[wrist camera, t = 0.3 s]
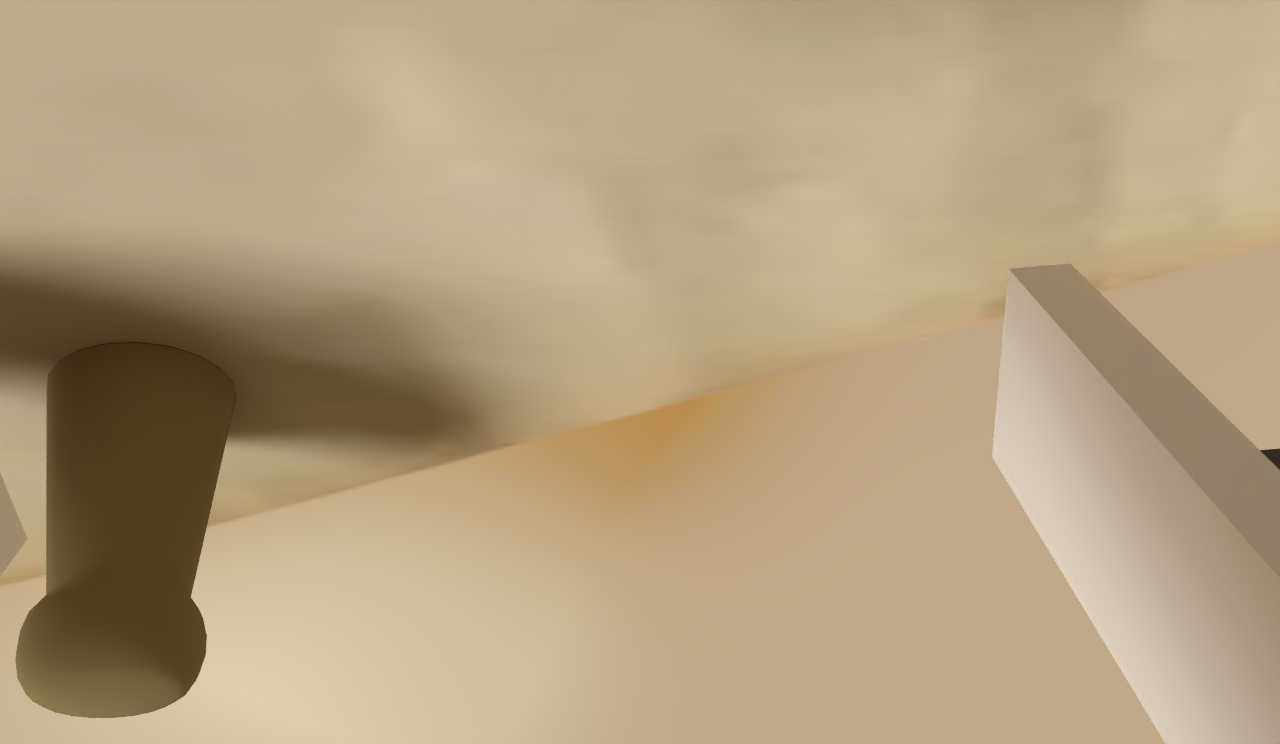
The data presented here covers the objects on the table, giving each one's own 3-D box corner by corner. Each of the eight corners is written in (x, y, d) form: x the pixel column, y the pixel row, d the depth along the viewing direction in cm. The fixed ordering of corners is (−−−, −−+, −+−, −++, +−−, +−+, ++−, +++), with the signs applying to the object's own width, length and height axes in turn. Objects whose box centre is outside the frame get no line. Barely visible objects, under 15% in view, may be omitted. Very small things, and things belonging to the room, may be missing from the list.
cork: (202, 331, 36) (175, 656, 30) (257, 426, 41) (243, 719, 35) (12, 355, 36) (-54, 689, 30) (91, 447, 41) (48, 749, 35)
